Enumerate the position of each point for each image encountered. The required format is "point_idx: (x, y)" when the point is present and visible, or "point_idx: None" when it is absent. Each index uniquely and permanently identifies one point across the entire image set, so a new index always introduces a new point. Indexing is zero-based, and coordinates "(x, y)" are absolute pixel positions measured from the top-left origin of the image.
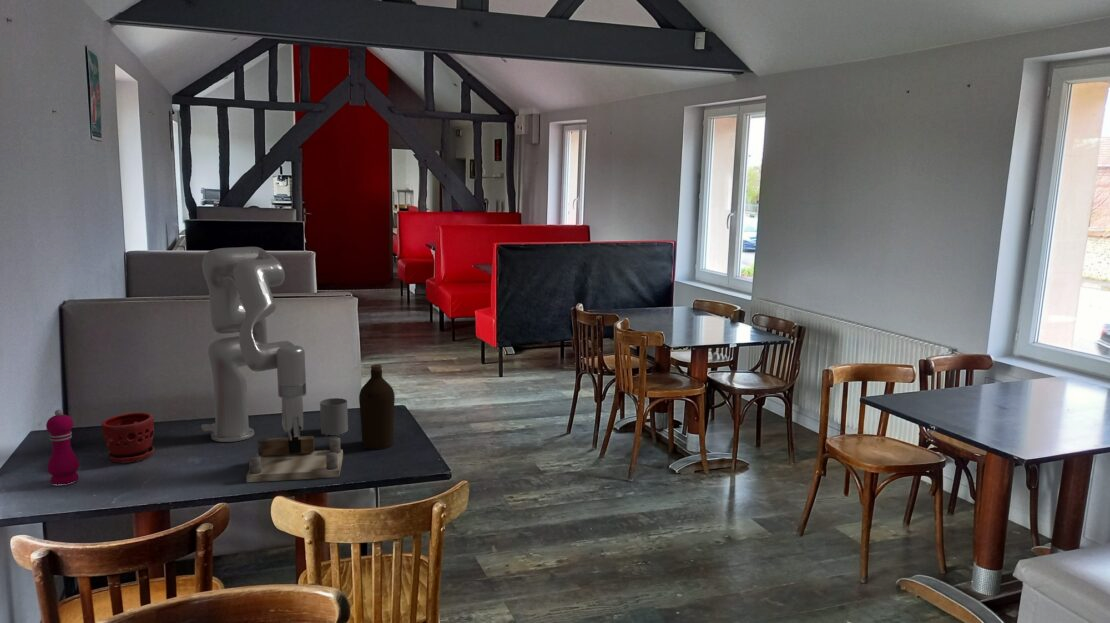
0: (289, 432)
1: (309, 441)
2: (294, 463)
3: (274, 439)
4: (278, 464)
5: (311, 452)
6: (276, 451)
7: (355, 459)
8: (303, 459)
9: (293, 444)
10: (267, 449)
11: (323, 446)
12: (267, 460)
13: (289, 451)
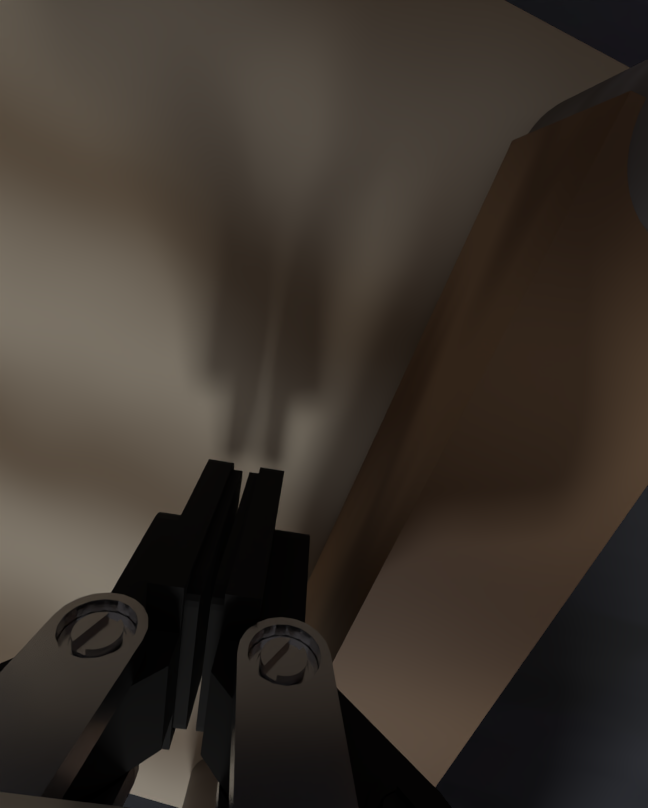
0: (36, 777)
1: None
2: (78, 429)
3: (609, 399)
4: (122, 262)
5: None
6: (431, 341)
7: (162, 805)
8: None
9: (126, 585)
10: (502, 217)
11: (582, 742)
12: (345, 176)
13: (205, 471)
